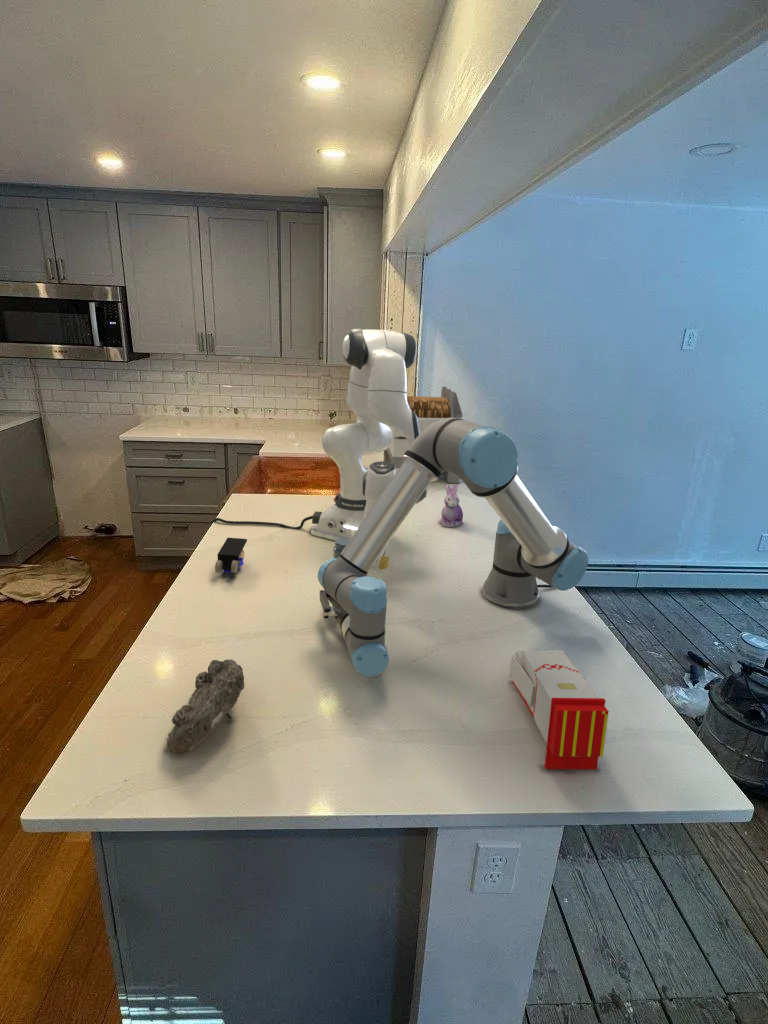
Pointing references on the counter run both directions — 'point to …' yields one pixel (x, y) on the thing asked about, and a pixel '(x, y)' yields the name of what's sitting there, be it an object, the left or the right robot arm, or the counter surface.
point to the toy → (561, 708)
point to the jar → (339, 550)
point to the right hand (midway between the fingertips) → (339, 579)
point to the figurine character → (230, 556)
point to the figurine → (451, 508)
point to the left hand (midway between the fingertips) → (378, 565)
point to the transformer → (425, 424)
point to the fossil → (206, 705)
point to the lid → (383, 562)
